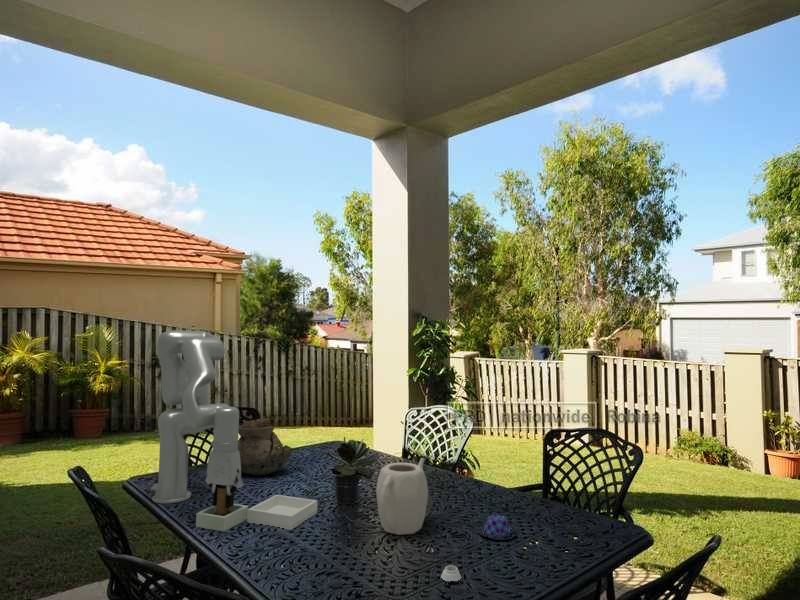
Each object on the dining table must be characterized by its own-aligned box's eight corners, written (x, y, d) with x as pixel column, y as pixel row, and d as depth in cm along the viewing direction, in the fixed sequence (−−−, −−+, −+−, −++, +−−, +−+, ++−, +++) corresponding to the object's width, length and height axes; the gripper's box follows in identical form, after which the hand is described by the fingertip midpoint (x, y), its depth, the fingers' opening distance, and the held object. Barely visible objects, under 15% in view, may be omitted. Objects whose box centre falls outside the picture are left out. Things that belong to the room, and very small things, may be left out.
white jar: (459, 586, 120) (462, 577, 125) (459, 574, 120) (462, 565, 125) (439, 583, 121) (442, 574, 126) (439, 571, 121) (442, 562, 126)
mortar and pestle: (226, 527, 153) (228, 467, 155) (207, 525, 155) (209, 466, 156) (237, 519, 160) (239, 462, 161) (219, 518, 161) (221, 460, 163)
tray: (247, 522, 158) (247, 509, 158) (276, 506, 173) (276, 494, 173) (291, 529, 152) (291, 516, 153) (317, 512, 167) (317, 500, 168)
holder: (195, 526, 154) (196, 513, 154) (221, 514, 165) (221, 501, 165) (223, 531, 150) (224, 517, 150) (247, 518, 161) (248, 505, 161)
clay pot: (221, 471, 215) (223, 420, 217) (271, 462, 231) (272, 415, 233) (247, 485, 197) (249, 429, 198) (300, 474, 213) (301, 423, 214)
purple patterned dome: (482, 543, 145) (482, 524, 146) (473, 527, 157) (473, 510, 158) (522, 542, 146) (522, 524, 147) (510, 527, 158) (510, 510, 159)
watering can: (444, 519, 163) (445, 460, 165) (404, 548, 140) (405, 479, 142) (403, 510, 171) (403, 453, 172) (358, 536, 148) (359, 471, 150)
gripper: (195, 446, 158) (193, 506, 157) (239, 451, 153) (237, 513, 151) (212, 442, 165) (210, 498, 164) (254, 446, 160) (252, 505, 158)
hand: (223, 505), depth 158 cm, fingers closed on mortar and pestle, 4 cm apart
